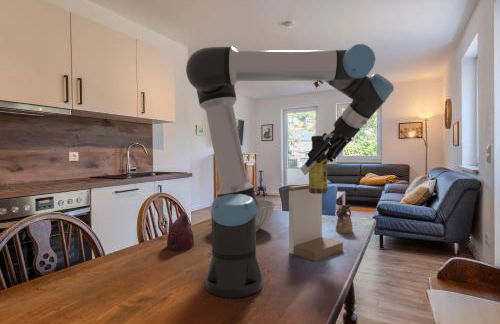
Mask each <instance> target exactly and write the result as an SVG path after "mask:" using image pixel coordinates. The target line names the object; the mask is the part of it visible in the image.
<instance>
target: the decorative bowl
mask: <svg viewBox="0 0 500 324" xmlns="http://www.w3.org/2000/svg"><path fill="white" fill-rule="evenodd" d="M256 200H257V201H258V204H259V208H260V213H259V218H258V221H257V224H256V233H257V232H258V231H259V230H260V228H261V227H263V226H264V225H265V224H266V223H267V222H268V220H269V219H270V218H271V216H272V215H273V212H274V208H275V203H274V202H273V201H271V200H265V199H257V198H256Z"/></svg>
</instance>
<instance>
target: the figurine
mask: <svg viewBox="0 0 500 324" xmlns="http://www.w3.org/2000/svg"><path fill="white" fill-rule="evenodd" d="M350 208H351V205H350V204H348V205H345V203H344V204H341V205H340V206H339V207H338V210H337V211H336V213H337V221H336V225H335V232H336V233H339V234H351V233H353V223H352V219H351V216H352V211H351V209H350ZM348 213H349V214H348Z"/></svg>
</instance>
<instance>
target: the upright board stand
mask: <svg viewBox="0 0 500 324" xmlns="http://www.w3.org/2000/svg"><path fill="white" fill-rule="evenodd" d="M287 189H288V251H289V252H288V253H289V254H292V255H294V256H297V257H299V258H303V259H305V260H309V261H312V262H317V261H320V260H323V259H325V258H328V257H331V256H333V255H336V254H337V253H341V252H343V251H344V250H343V249H344V242H343V241H339V240H335V239H331V238H327V237H323V198H322V197H323V193H322V194H313V193H310V192H309V184H303V185H295V186H293V185H291V186H288V187H287Z"/></svg>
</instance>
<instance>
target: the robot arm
mask: <svg viewBox="0 0 500 324" xmlns="http://www.w3.org/2000/svg"><path fill="white" fill-rule="evenodd" d="M375 63H376V55H375V52H374V50H373V49H372V48H371V47H370V46H369V45H366V44H363V43H360V44H359V43H358V44H355V45H352V46H351V47H349V48H347V49H331V50H330V49H326V50H325V49H324V50H323V49H321V50H320V49H316V50H314V49H313V50H311V49H310V50H308V49H307V50H305V49H304V50H295V49H294V50H237V49H236V48H235V47H233V46H210V47H204V48H200V49H197V50H196V51H194V52H193V53H192V54H191V56H190V57H189V58H188V60H187V62H186V66H185V67H186V68H185V72H186V73H185V74H186V77H187V80H188V82H189V84H190V85H191V86H192V87H193V88H195V89H196V94H197V99H198V105H199V108H201V109H203V110H204V111H205V114H206V118H207V124H208V130H209V134H210V139H211V145H212V149H213V153H214V154H213V155H214V160H215V164H216V171H217V175H218V179H219V189H218V190H217V192H216V196H217V197H216V198H215V199H214V200H213V201H212V202H211V210H210V215H211V216H210V217H211V253H212V255H211V260H210V264H209V267H208V270H207V273H206V275H205V276H206V277H205V288H206V290H207V292H209V293H210V294H211V295H215V296H217V297H221V298H229V299H236V298H242V297H243V298H244V297H248V296H251V295H252V296H253V295H254V294H257V293H258V292H259V291H260V290H261V289H262V288H263V285H264V282H263V279H264V277H263V273H262V270H261V266H260V263H259V261H258V257H257V247H256V245H257V240H256V239H257V235H256V234H257V232H256V224H257V221H258V218H259V213H260V208H259V204H258V201H257V200H256V199H257V197H256V192H255V191H256V190H255V188H254V185H253V184H252V183H251V182H249V180H248V175H247V170H246V166H245V160H244V155H243V150H242V143H241V140H240V136H239V129H238V125H237V121H236V119H237V118H236V114H235V110H234V105H235V103H236V102H237V99H238V98H237V95H236V89H235V85H236V83H238V82H285V81H286V82H292V81H294V82H295V81H296V82H299V81H301V82H302V81H305V82H306V81H307V82H308V81H309V82H310V81H312V82H313V81H315V82H316V81H324V82H326V83H327V84H328V85H329V86H331V87H333V88H334V89H336V90H337V91H339V92H341V93H342V94H344V95H345V96H347V97H348V98H349V99H351V101H350V103H349V105H347V107H346V108H345V109H344V110H343V111H342V113H341V115H339V117H338V118H337V119H336V120H335V122H334V123H333V126H334V129H333V130H332V131H331V132H330V133H328V134H327V132H324V133H323V134H322V135H321V136H322V137H321V139H320V140H319V141H318V142H317V144H316V145H315V146H314V147H313V148H312V147H311V149H310V150H309V152H308V153H307V156H308V159H307V160H306V161H305V162H304V164H303V165H302V166H301V167H300V170H301V172H302V173H303V175H305V176H306V175H308V174H309V171H310V169H311V168H312V167H313V166H314V165H315V163H316V162H317V161H316V160H317V159H318V158H319V157H320V156H322V155H323V154H324V153H325V155H326V157H327V164H328V163H329V162H330V163H333V162H334V160H336V158H337V157H338V156H339V155H340V154H341V153H342V152H343V150H344V149H345V148H346V146H347V145H348V144H350V142H351V141H353V138H355V137H356V135H357V134H358V133H359V132H360V130H361V128H363V127H364V126H365V125H367V124H368V121H369V120H370V119H371V118H372V117H373V115H374V114H375V113H376V112H377V111H378V110H379V109H380V108H381V107H382V105H383V104H384V103H385V102H386V101H387V99H388V98H389V97H390V96H391V94H392V93H393V92H394V85H393V83H392V82H391V81H390V80H388V79H387V78H385V77H384V76H382V75H381V74H379V73H373V74H372V75H371V76H368V75H369V74H370V72H371V71H372V70H373V68H374V66H375ZM309 157H310V158H309Z"/></svg>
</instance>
